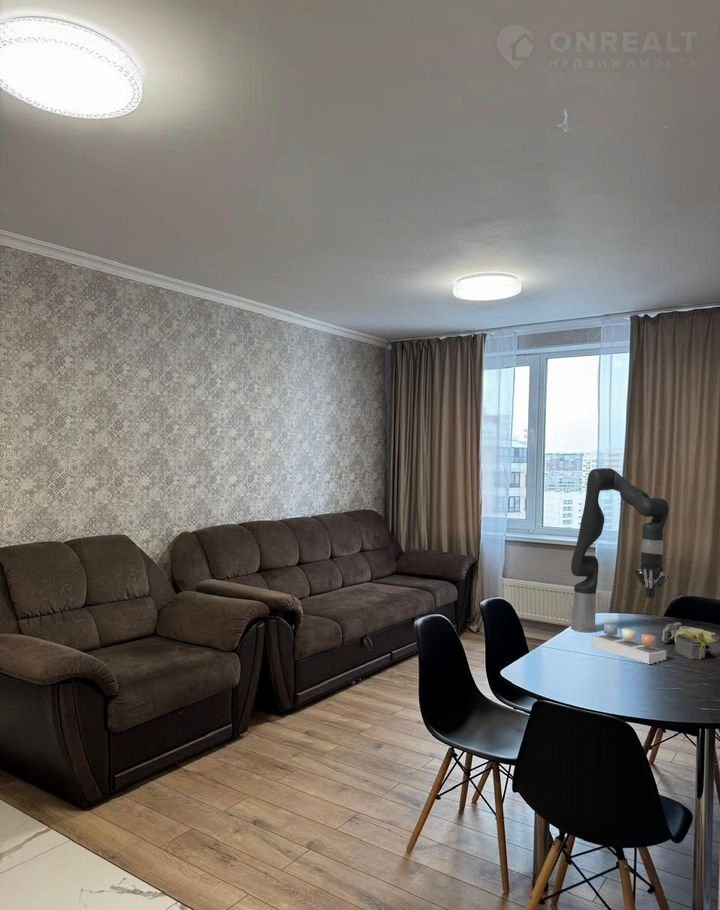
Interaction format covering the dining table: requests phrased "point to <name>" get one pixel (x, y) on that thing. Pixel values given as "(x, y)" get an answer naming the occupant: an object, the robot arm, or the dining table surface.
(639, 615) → the dining table surface
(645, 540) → the robot arm
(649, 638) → the terracotta button
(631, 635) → the cream button
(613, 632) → the slate button
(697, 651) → the circular saw
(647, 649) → the console
